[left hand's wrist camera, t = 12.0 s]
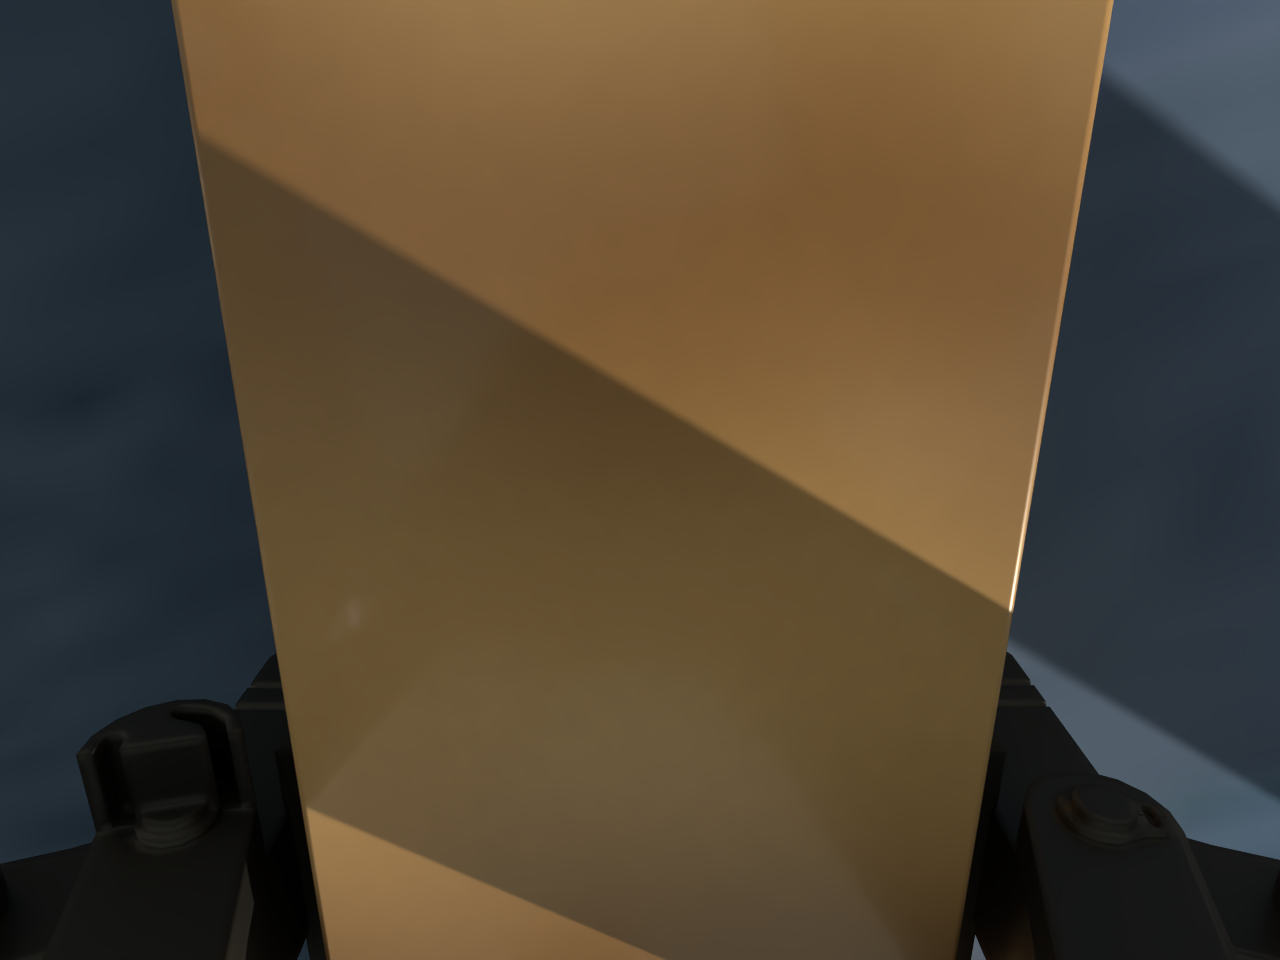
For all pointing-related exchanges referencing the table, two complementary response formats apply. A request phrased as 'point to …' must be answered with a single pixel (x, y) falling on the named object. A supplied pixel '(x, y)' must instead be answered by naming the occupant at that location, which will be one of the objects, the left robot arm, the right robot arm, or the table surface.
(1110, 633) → the table surface
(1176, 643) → the table surface
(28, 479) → the table surface
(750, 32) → the bar
